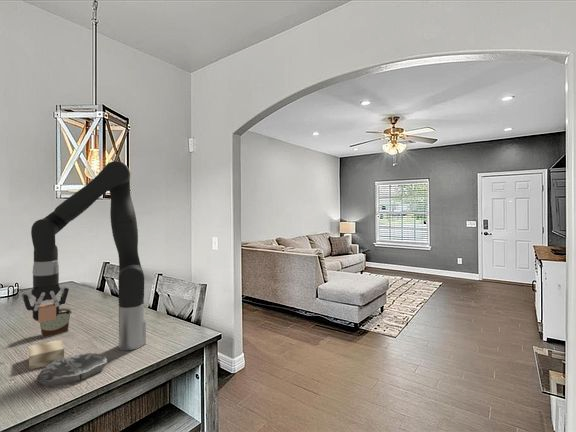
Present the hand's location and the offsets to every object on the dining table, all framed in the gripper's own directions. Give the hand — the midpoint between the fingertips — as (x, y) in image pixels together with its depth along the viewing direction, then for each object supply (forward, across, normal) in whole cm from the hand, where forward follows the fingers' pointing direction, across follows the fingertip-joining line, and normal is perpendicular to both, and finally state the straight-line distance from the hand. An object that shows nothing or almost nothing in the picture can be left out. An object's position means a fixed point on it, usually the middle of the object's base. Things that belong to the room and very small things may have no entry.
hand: (46, 318), depth 115 cm
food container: (+16, +8, +27) cm, 32 cm away
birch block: (+16, 0, 0) cm, 16 cm away
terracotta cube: (0, 0, 0) cm, 0 cm away
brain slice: (+16, +4, -17) cm, 24 cm away
